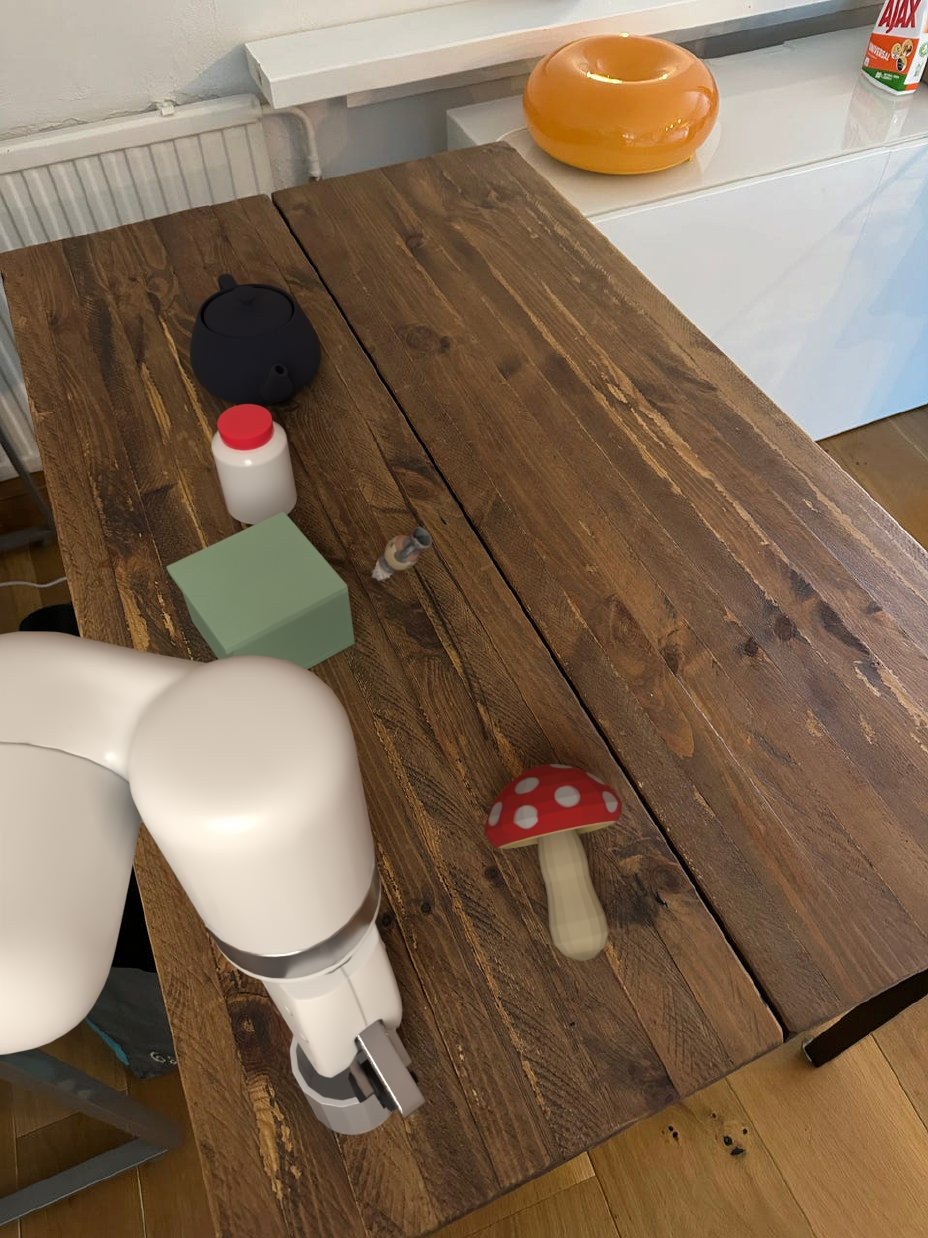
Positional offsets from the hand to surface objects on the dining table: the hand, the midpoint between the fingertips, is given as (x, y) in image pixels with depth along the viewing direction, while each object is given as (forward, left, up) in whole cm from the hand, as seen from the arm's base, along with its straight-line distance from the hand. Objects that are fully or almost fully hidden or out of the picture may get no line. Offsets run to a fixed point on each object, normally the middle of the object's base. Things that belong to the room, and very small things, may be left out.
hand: (335, 1005), depth 54 cm
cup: (0, 0, -18) cm, 18 cm away
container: (+15, +39, -18) cm, 45 cm away
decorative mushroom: (+22, +3, -18) cm, 28 cm away
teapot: (+33, +74, -18) cm, 83 cm away
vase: (+30, +38, -18) cm, 52 cm away
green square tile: (+14, +39, -10) cm, 43 cm away
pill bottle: (+23, +56, -18) cm, 63 cm away
